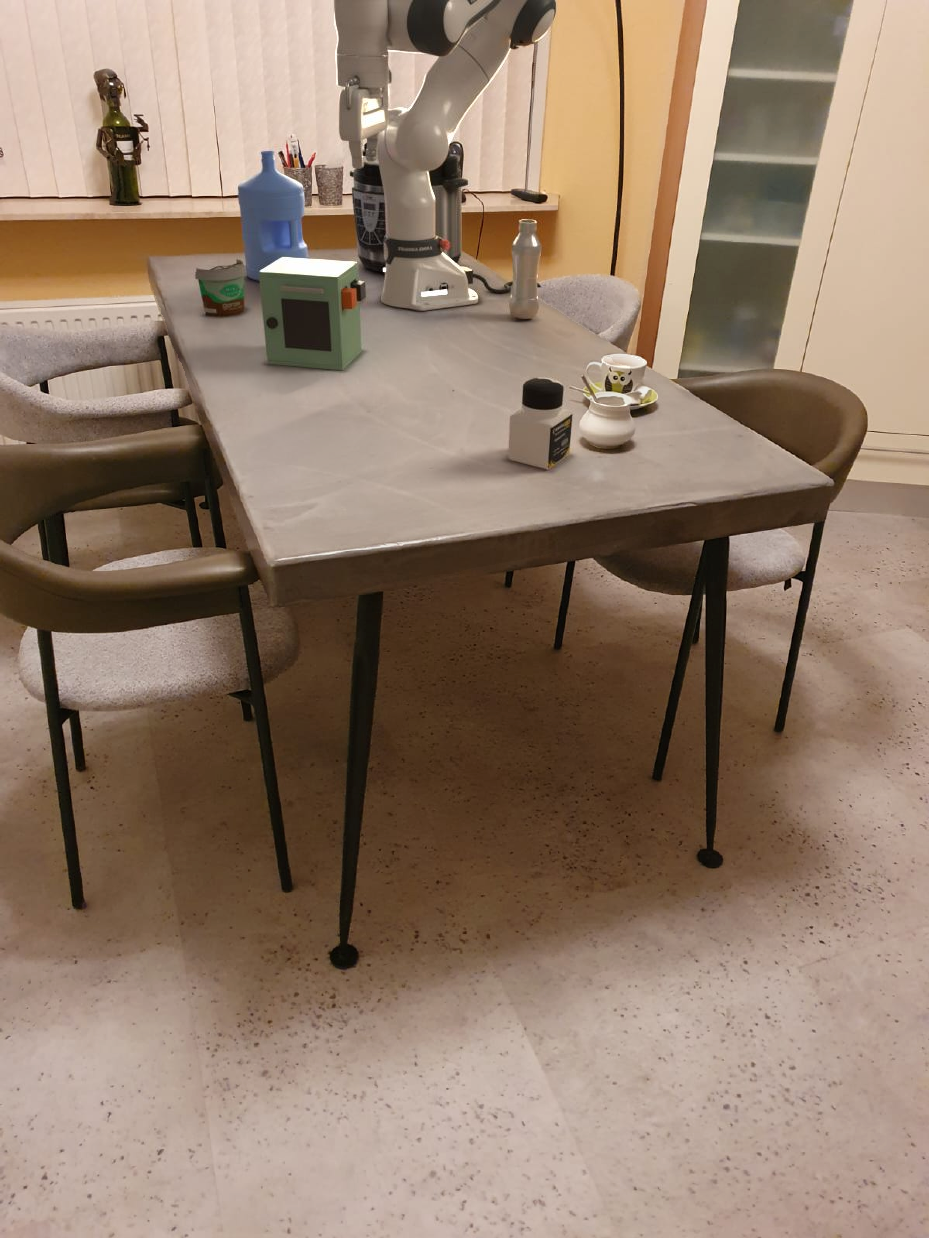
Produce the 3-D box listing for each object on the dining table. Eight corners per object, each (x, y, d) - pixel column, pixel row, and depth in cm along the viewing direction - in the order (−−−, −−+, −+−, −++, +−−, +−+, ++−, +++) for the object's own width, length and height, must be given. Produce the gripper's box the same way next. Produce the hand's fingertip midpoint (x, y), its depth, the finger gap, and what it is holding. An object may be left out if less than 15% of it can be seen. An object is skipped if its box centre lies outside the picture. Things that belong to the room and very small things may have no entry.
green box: (361, 351, 190) (357, 262, 181) (340, 372, 179) (335, 278, 170) (289, 345, 192) (282, 257, 183) (264, 366, 181) (255, 273, 172)
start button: (357, 305, 178) (356, 288, 176) (352, 309, 175) (351, 292, 174) (341, 304, 178) (340, 287, 176) (336, 308, 176) (335, 291, 174)
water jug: (232, 276, 238) (219, 152, 223) (277, 265, 249) (267, 145, 233) (278, 286, 230) (267, 158, 215) (322, 274, 241) (315, 151, 226)
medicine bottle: (548, 470, 143) (553, 393, 137) (507, 460, 146) (510, 383, 140) (570, 455, 148) (576, 379, 142) (529, 444, 152) (533, 370, 145)
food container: (219, 322, 205) (213, 273, 200) (200, 316, 208) (193, 268, 203) (262, 309, 214) (257, 263, 208) (243, 305, 217) (238, 258, 211)
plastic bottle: (518, 323, 208) (522, 225, 197) (503, 315, 213) (506, 219, 202) (543, 320, 210) (549, 223, 199) (528, 312, 215) (532, 217, 204)
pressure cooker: (338, 257, 257) (331, 124, 240) (436, 249, 267) (436, 121, 250) (374, 283, 234) (369, 139, 217) (480, 274, 244) (483, 135, 227)
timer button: (365, 297, 182) (365, 281, 180) (361, 301, 180) (360, 285, 178) (350, 296, 183) (349, 280, 181) (345, 300, 180) (345, 284, 179)
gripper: (365, 79, 154) (367, 173, 161) (394, 72, 171) (395, 158, 178) (327, 77, 154) (331, 171, 162) (359, 71, 171) (362, 156, 179)
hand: (365, 164), depth 170 cm, fingers open, 8 cm apart
